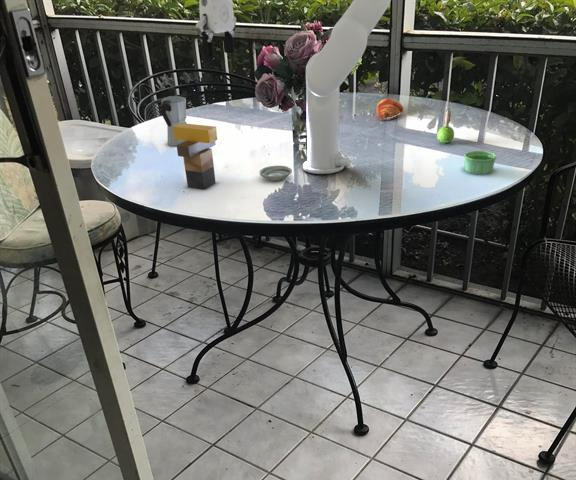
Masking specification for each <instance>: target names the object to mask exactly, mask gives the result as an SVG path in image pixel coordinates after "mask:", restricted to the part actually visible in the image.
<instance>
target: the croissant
mask: <svg viewBox="0 0 576 480" xmlns="http://www.w3.org/2000/svg"><path fill="white" fill-rule="evenodd" d="M375 112H376V116H377V115H378V116H377V118H378V117H379V118H381V119H379V118H378V119H379V120H380V121H392V120H394V119H396V118H398V117H399V116H400V115H398V116H396V117H393V118H390V119H384V118H387V117H392V116H394V115H397V114H399V113H401V112H402V113H403V112H404V107H403V104H402V103H401V102H400V101H399V100H396V99H394V98H391V97H388V98H384V99H381V100H379V101H378V103H377V105H376V108H375ZM402 113H401V114H402ZM382 119H383V120H382Z"/></svg>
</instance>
